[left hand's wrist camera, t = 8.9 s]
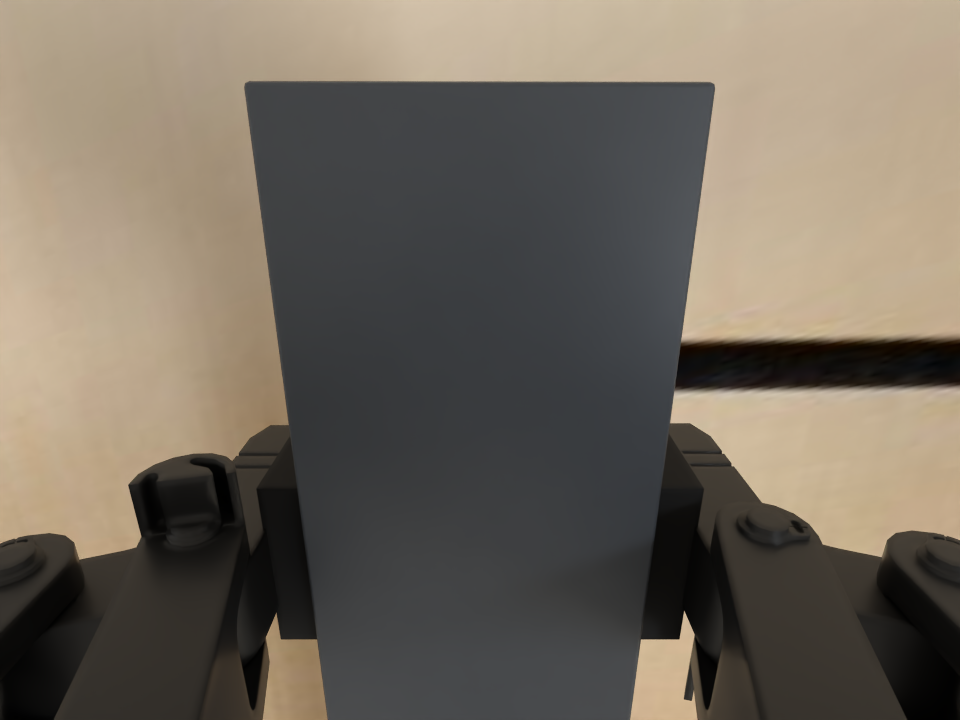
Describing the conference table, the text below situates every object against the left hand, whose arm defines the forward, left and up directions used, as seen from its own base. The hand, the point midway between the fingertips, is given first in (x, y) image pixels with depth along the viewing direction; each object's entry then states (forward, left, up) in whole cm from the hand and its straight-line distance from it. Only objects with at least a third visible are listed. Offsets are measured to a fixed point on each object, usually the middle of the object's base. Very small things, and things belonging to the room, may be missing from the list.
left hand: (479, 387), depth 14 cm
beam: (+16, +12, -1) cm, 20 cm away
